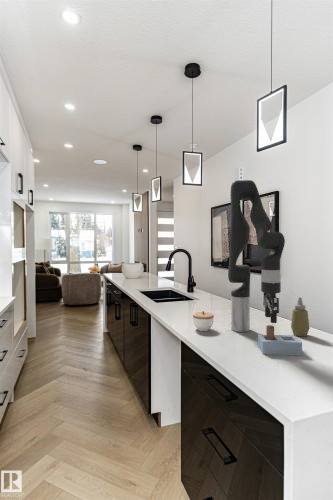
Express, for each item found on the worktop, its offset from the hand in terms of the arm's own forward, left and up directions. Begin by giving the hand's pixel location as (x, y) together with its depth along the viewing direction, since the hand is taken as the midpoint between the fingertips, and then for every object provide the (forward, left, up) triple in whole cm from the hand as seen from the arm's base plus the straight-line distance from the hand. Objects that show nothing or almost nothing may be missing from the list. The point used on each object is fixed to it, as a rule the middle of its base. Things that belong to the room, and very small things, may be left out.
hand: (270, 319), depth 119 cm
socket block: (0, +3, -13) cm, 13 cm away
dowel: (+1, 0, -13) cm, 13 cm away
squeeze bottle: (-22, +19, -13) cm, 32 cm away
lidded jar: (-28, -27, -13) cm, 41 cm away
